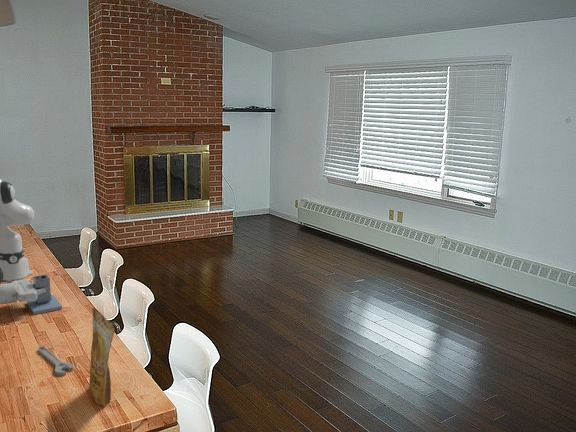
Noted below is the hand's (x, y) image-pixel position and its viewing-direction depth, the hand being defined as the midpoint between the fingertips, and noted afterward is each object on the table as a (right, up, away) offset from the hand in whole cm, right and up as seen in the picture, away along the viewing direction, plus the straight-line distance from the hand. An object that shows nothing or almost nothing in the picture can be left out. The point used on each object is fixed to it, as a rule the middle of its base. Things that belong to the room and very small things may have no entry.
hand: (43, 287), depth 252 cm
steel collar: (-1, -6, +1) cm, 6 cm away
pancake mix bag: (+51, -27, -71) cm, 91 cm away
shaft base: (0, -9, 0) cm, 9 cm away
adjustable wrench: (+27, -22, -49) cm, 60 cm away
